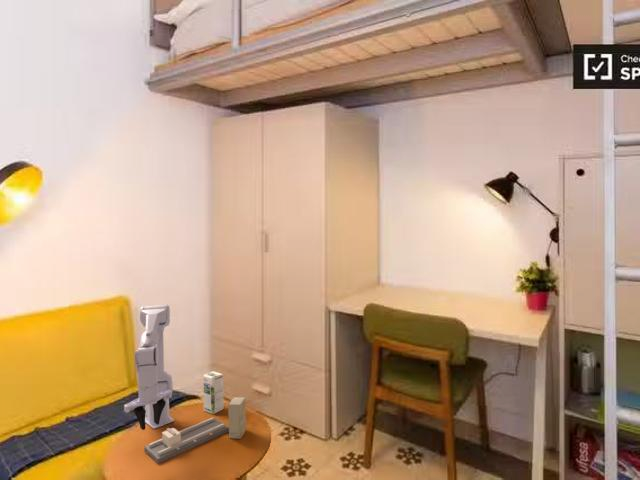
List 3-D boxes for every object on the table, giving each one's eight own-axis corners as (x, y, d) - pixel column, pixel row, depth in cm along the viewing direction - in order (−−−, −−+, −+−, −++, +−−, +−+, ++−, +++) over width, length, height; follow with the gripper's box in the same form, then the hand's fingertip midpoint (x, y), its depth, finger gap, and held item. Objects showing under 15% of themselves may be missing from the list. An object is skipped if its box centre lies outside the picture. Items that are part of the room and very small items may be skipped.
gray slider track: (144, 451, 136) (144, 443, 136) (213, 421, 155) (213, 415, 154) (158, 463, 129) (157, 455, 129) (228, 431, 148) (228, 424, 148)
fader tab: (162, 442, 138) (161, 430, 137) (173, 437, 141) (173, 425, 140) (169, 448, 134) (168, 436, 134) (180, 443, 137) (180, 431, 137)
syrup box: (203, 410, 163) (202, 375, 162) (214, 405, 168) (213, 370, 167) (213, 414, 160) (211, 378, 159) (224, 408, 165) (223, 373, 164)
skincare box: (240, 439, 142) (240, 405, 141) (228, 438, 143) (227, 404, 142) (246, 429, 148) (245, 397, 148) (234, 429, 149) (233, 396, 148)
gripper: (129, 395, 123) (131, 439, 124) (175, 381, 133) (177, 421, 134) (120, 388, 128) (122, 431, 129) (165, 375, 138) (167, 414, 139)
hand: (149, 425), depth 132 cm, fingers open, 4 cm apart
